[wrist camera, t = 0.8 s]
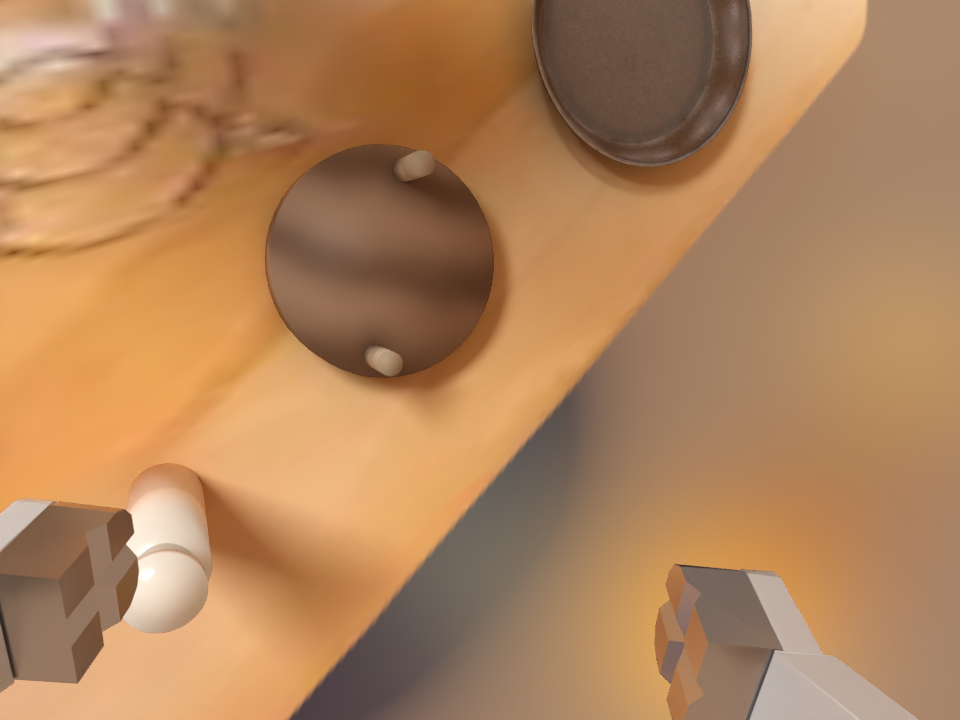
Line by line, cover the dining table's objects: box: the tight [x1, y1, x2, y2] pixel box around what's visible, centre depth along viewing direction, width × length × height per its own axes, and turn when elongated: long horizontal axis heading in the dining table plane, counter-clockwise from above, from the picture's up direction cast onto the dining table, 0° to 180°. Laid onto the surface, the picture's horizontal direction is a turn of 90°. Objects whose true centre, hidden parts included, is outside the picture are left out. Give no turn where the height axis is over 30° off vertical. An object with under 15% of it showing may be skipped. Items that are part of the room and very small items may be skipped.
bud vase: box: [123, 463, 212, 633], centre depth 40 cm, size 5×5×15 cm
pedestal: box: [265, 144, 494, 378], centre depth 47 cm, size 16×16×6 cm
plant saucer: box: [531, 0, 752, 167], centre depth 54 cm, size 21×21×3 cm
